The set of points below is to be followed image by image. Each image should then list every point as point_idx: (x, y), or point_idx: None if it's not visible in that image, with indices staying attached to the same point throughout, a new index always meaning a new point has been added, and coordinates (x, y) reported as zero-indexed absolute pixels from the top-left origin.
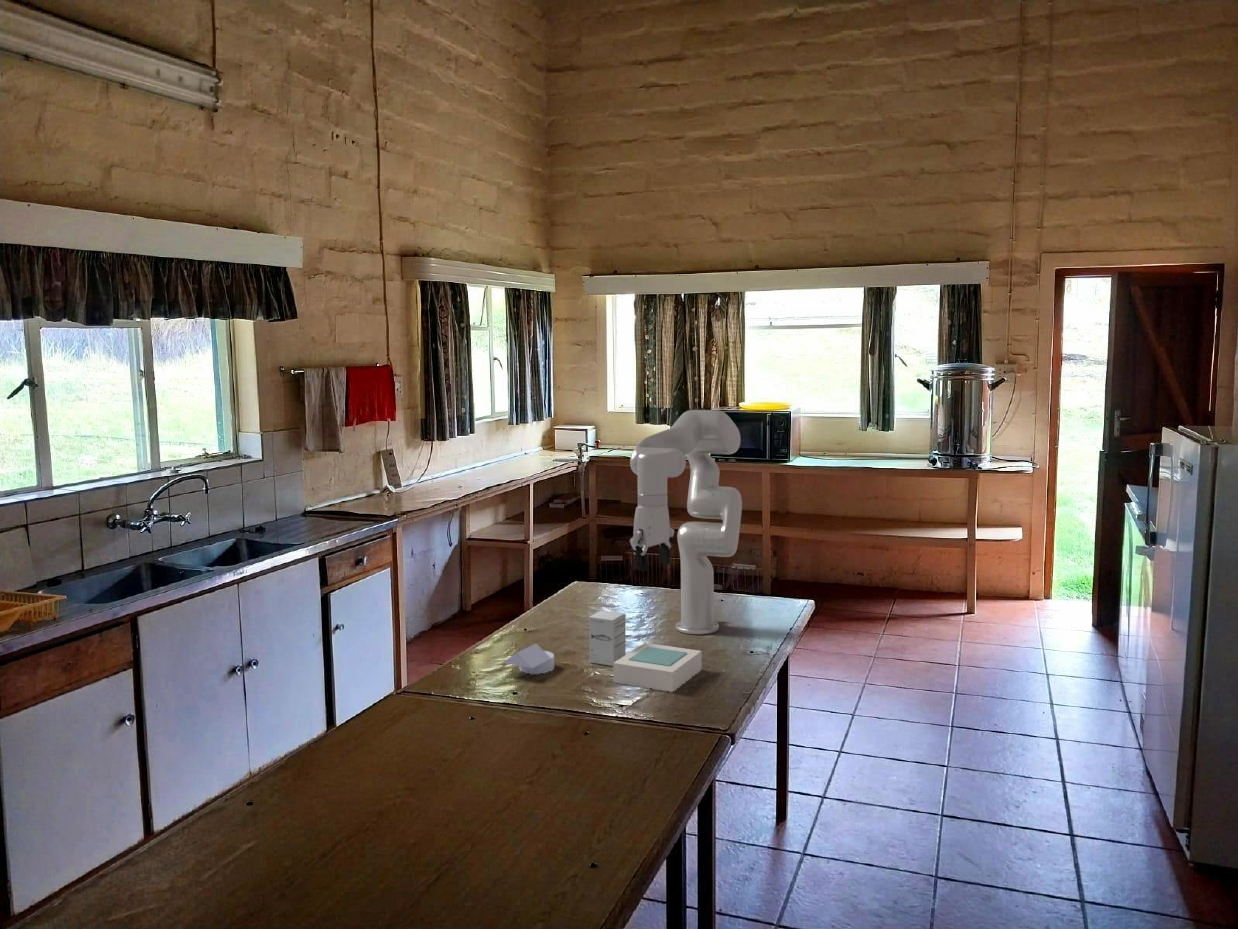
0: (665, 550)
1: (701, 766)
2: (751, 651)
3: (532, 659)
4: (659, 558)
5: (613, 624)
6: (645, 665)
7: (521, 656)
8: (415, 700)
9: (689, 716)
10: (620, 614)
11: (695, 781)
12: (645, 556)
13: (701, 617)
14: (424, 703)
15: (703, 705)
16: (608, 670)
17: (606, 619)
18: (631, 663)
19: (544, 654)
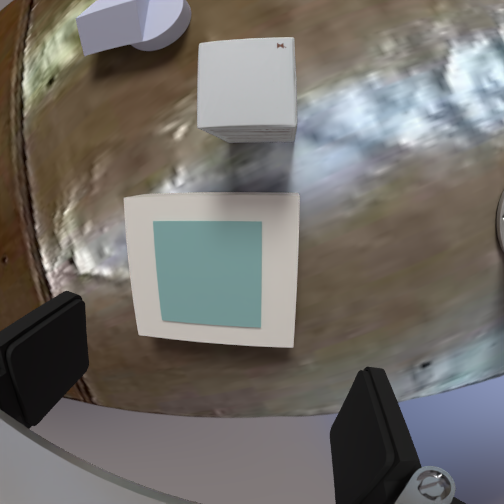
0: (347, 499)
1: None
2: (427, 364)
3: (96, 37)
4: (364, 395)
5: (203, 130)
6: (142, 272)
7: (78, 28)
8: (14, 17)
9: (96, 362)
10: (271, 117)
11: None
12: (18, 419)
13: None
14: (9, 31)
15: (136, 371)
16: (203, 145)
17: (197, 103)
18: (138, 237)
19: (133, 29)
